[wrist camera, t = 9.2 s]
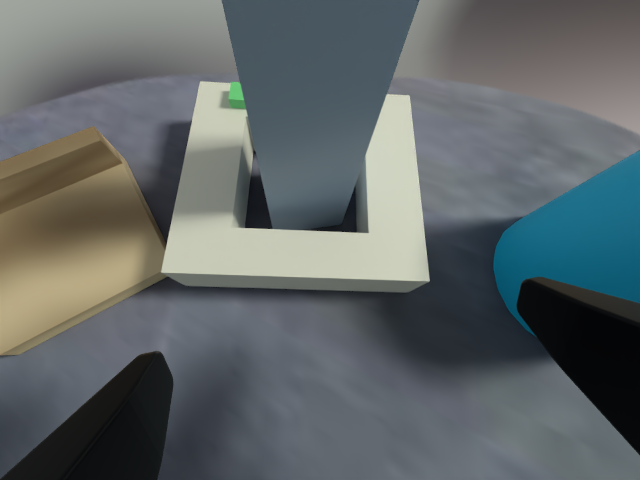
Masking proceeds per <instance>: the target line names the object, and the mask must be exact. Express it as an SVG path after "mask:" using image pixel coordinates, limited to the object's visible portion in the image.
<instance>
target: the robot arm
mask: <svg viewBox="0 0 640 480" xmlns="http://www.w3.org/2000/svg"><path fill="white" fill-rule="evenodd" d="M516 307H517V311H518V313H519V315H520V316H521V318H522V319H523V320H524V321H525V323H526V324H527V325H528V327H529V328H530V329H531V331H532V332H533V333H534V334H535V336H536V337H537V338H538V340H539V341H540V342H541V344H542V345H543V346H544V347H545V349H546V350H547V351H548V353H549V354H550V355H551V357H552V358H553V359H554V360H555V362H556V363H557V364H558V365H559V367H560V368H561V369H562V370H563V371H564V372H565V373H566V375H567V376H568V377H569V378H570V379H571V380H572V381H573V382H574V383H575V385H576V386H577V387H578V388H579V389H580V390H581V391H582V392H583V393H584V394H585V396H586V397H587V398H588V399H589V400H590V401H591V402H592V403H593V404H594V405H595V407H596V408H597V409H598V410H599V411H600V412H601V413H602V414H603V415H604V416H605V418H606V419H607V420H608V421H609V422H610V423H611V424H612V425H613V426H614V427H615V429H616V430H617V431H618V432H619V433H620V434H621V435H622V436H623V437H624V438H625V440H626V441H627V442H628V443H629V444H630V445H631V446H632V447H633V448H634V449H635V451H636V452H637V453H638V454H639V455H640V303H638V302H634V301H630V300H626V299H623V298H619V297H615V296H611V295H608V294H604V293H600V292H597V291H593V290H589V289H585V288H582V287H578V286H574V285H570V284H567V283H563V282H559V281H556V280H552V279H548V278H544V277H534V278H528V279H525V280H523V282H522V283H521V286H520V290H519V295H518V299H517V304H516ZM172 391H173V377H172V374H171V372H170V370H169V367H168V365H167V363H166V361H165V358H164V356H163V354H162V353H161V352H159V351H154V352H149V353H144V354H141V355H139V356H137V357H136V358H135V359H134V360H133V361H132V362H131V363H129V364H128V365H127V366H126V367H125V368H124V369H123V370H122V371H121V372H119V373H118V374H117V375H116V376H115V377H114V378H113V379H112V380H110V381H109V382H108V383H107V384H106V385H105V386H104V387H103V388H102V389H100V390H99V391H98V392H97V393H96V394H95V395H94V396H93V397H92V398H90V399H89V400H88V401H87V402H86V403H85V404H84V405H83V406H81V407H80V408H79V409H78V410H77V411H76V412H75V413H74V414H73V415H71V416H70V417H69V418H68V419H67V420H66V421H65V422H64V423H62V424H61V425H60V426H59V427H58V428H57V429H56V430H55V431H54V432H52V433H51V434H50V435H49V436H48V437H47V438H46V439H45V440H43V441H42V442H41V443H40V444H39V445H38V446H37V447H36V448H35V449H33V450H32V451H31V452H30V453H29V454H28V455H27V456H26V457H24V458H23V459H22V460H21V461H20V462H19V463H18V464H17V465H16V466H14V467H13V468H12V469H11V470H10V471H9V472H8V473H7V474H5V475H4V476H3V477H2V478H1V479H0V480H157V478H158V474H159V470H160V466H161V461H162V456H163V451H164V445H165V438H166V431H167V425H168V418H169V411H170V405H171V398H172Z"/></svg>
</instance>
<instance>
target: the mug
mask: <svg viewBox="0 0 640 480" xmlns="http://www.w3.org/2000/svg"><path fill="white" fill-rule="evenodd" d="M493 269H494V274H495V279H496V283H497V288H498V291H499V293H500V295H501V296H502V298H503V300H504V302H505V304H506V306H507V308H508V310H509V311H510V313H511V314H512V315H513V316H514V317H515V318H516V319H517V320H518V322H519V323H520V324H521V325H522V326H523V327H524V328H525V329H526V330H527V331H528V332H530V333H531V334H533V335H534V336H535V334H534V333H533V332H532V331H531V329H530V328H529V327H528V325H527V324H526V323H525V321H524V320H523V319H522V318H521V316H520V315H519V313H518V311H517V307H516V304H517V299H518V295H519V290H520V286H521V283H522V282H523V280H525V279H528V278H534V277H544V278H548V279H552V280H556V281H559V282H563V283H567V284H570V285H574V286H578V287H582V288H585V289H589V290H593V291H597V292H600V293H604V294H608V295H611V296H615V297H619V298H623V299H626V300H630V301H634V302H638V303H640V150H639V151H637V152H636V153H634V154H632V155H630V156H629V157H627V158H625V159H624V160H622V161H620V162H618V163H617V164H615V165H613V166H611V167H610V168H608V169H606V170H604V171H603V172H601V173H599V174H598V175H596V176H594V177H592V178H591V179H589V180H587V181H585V182H584V183H582V184H580V185H579V186H577V187H575V188H573V189H572V190H570V191H568V192H566V193H565V194H563V195H561V196H559V197H558V198H556V199H554V200H553V201H551V202H549V203H547V204H546V205H544V206H542V207H540V208H539V209H537V210H535V211H533V212H532V213H530V214H528V215H527V216H525V217H523V218H521V219H520V220H518V221H516V222H515V223H514V224H513V225H512V226H510V227H509V228H508V229H507V230H505V231H504V232H503V234H502V236H501V238H500V240H499V242H498V244H497V246H496V247H495V255H494V264H493ZM535 337H536V336H535Z"/></svg>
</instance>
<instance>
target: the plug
mask: <svg viewBox="0 0 640 480" xmlns="http://www.w3.org/2000/svg"><path fill="white" fill-rule="evenodd" d="M418 2H419V0H222V3H223V7H224V12H225V17H226V21H227V26H228V30H229V34H230V39H231V43H232V48H233V52H234V57H235V61H236V66H237V71H238V75H239V80H240V84H241V88H242V93H243V97H244V102H245V106H246V111H247V115H248V120H249V124H250V129H251V133H252V138H253V142H254V147H255V151H256V156H257V160H258V165H259V169H260V174H261V178H262V183H263V187H264V192H265V196H266V201H267V205H268V210H269V214H270V219H271V223H272V227H273V229H280V230H306V229H313V228H320V227H327V226H334V225H341V224H342V222H343V219H344V216H345V213H346V210H347V207H348V204H349V201H350V198H351V196H352V193H353V190H354V187H355V184H356V181H357V178H358V175H359V173H360V170H361V167H362V164H363V161H364V158H365V155H366V152H367V150H368V147H369V144H370V141H371V138H372V135H373V132H374V129H375V126H376V124H377V121H378V118H379V115H380V112H381V109H382V106H383V103H384V101H385V98H386V95H387V92H388V89H389V86H390V83H391V80H392V77H393V75H394V72H395V69H396V66H397V63H398V60H399V57H400V54H401V51H402V48H403V46H404V43H405V40H406V37H407V34H408V31H409V28H410V25H411V23H412V19H413V17H414V14H415V11H416V8H417V5H418Z"/></svg>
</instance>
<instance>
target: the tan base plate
mask: <svg viewBox="0 0 640 480" xmlns="http://www.w3.org/2000/svg"><path fill="white" fill-rule="evenodd" d="M166 245H167V244H166V242H165V240H164V238H163V236H162V234H161V232H160V229H159V227H158V225H157V223H156V221H155V219H154V217H153V215H152V213H151V211H150V209H149V207H148V205H147V203H146V201H145V199H144V197H143V195H142V192H141V190H140V188H139V186H138V184H137V182H136V180H135V178H134V176H133V174H132V172H131V170H130V168H129V166H128V164H127V162H126V160H125V159H124V158H123V157H122V156H121V155H120V154H119V153H118V151H117V150H116V149H115V148H114V147H113V146H112V145H111V144H110V143H109V142H108V141H107V140H106V139H105V137H104V136H103V135H102V134H101V133H100V132H99V131H98V130H97V129H96V128H95V127H94V126H93V127H90V128H87V129H85V130H82V131H80V132H77V133H74V134H72V135H69V136H66V137H64V138H61V139H58V140H56V141H53V142H51V143H48V144H45V145H43V146H40V147H37V148H35V149H32V150H30V151H27V152H24V153H22V154H19V155H16V156H14V157H11V158H8V159H6V160H3V161H1V162H0V355H19V354H21V353H23V352H25V351H27V350H29V349H31V348H33V347H35V346H37V345H39V344H40V343H42V342H44V341H46V340H48V339H50V338H52V337H54V336H56V335H58V334H59V333H61V332H63V331H65V330H67V329H69V328H71V327H73V326H75V325H77V324H78V323H80V322H82V321H84V320H86V319H88V318H90V317H92V316H94V315H96V314H98V313H99V312H101V311H103V310H105V309H107V308H109V307H111V306H113V305H115V304H117V303H118V302H120V301H122V300H124V299H126V298H128V297H130V296H132V295H134V294H136V293H138V292H139V291H141V290H143V289H145V288H147V287H149V286H151V285H153V284H155V283H157V282H158V281H160V280H162V279H164V278H166V277H168V276H166V275H164V274H163V273H161V270H162V265H163V260H164V255H165V250H166Z"/></svg>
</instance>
